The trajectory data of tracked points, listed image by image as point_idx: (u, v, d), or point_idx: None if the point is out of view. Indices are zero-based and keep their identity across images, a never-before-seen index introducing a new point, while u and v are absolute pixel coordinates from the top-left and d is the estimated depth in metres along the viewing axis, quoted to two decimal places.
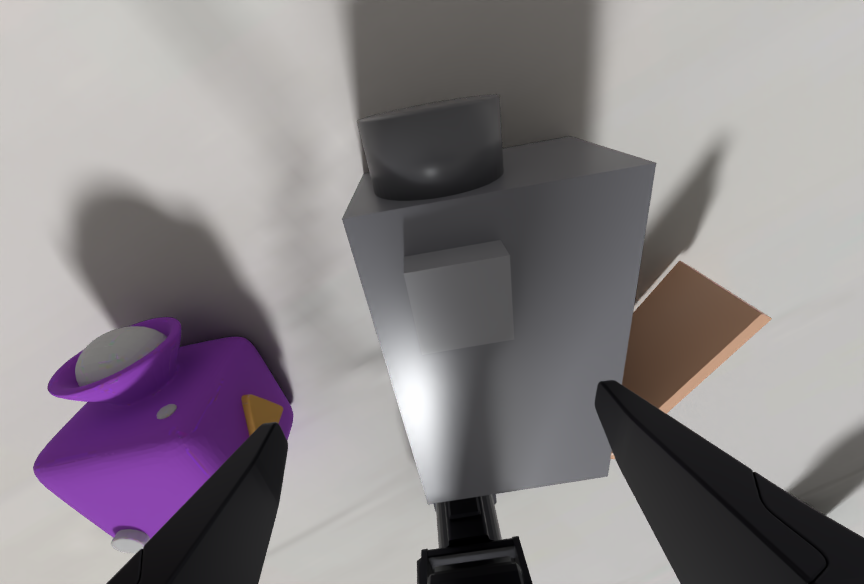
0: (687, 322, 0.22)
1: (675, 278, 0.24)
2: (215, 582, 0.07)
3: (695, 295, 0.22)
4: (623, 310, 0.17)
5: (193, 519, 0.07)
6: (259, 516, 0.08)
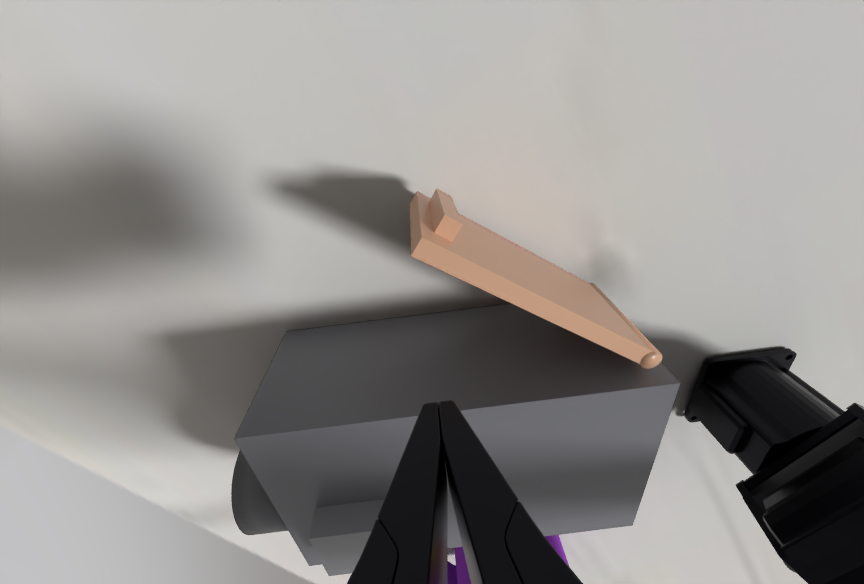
0: None
1: None
2: (439, 554, 0.07)
3: None
4: (383, 427, 0.16)
5: (415, 491, 0.07)
6: (444, 493, 0.08)
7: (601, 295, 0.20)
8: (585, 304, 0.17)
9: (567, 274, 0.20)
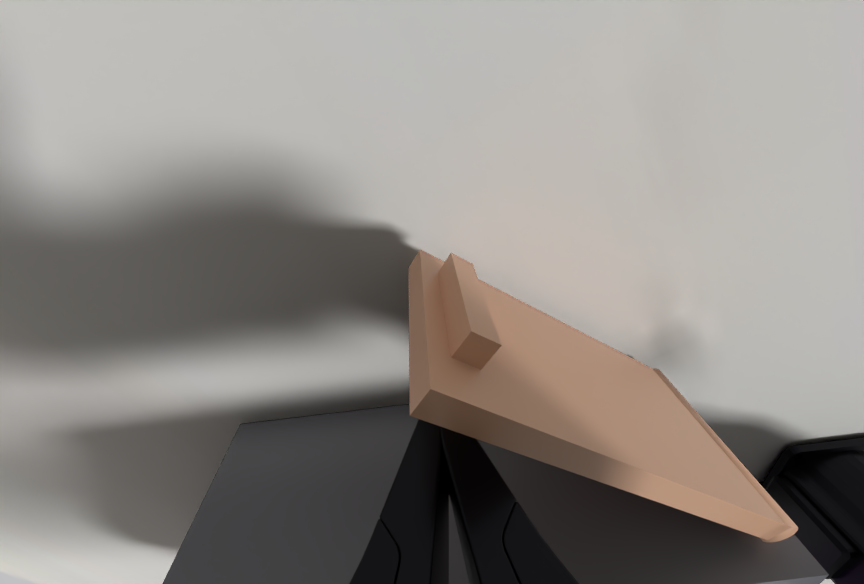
0: None
1: None
2: (441, 554, 0.07)
3: None
4: None
5: (416, 491, 0.07)
6: (446, 493, 0.08)
7: (675, 394, 0.14)
8: (675, 438, 0.11)
9: (628, 362, 0.14)
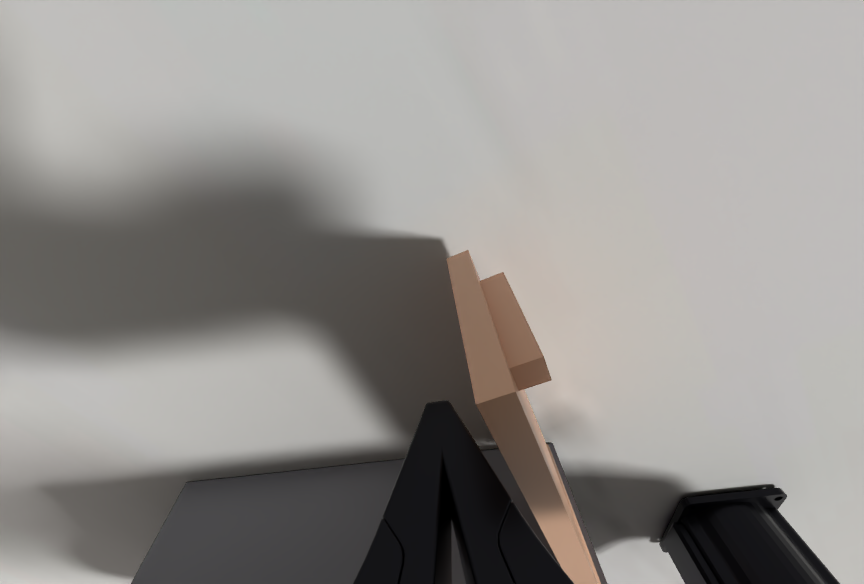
0: None
1: None
2: (444, 553, 0.07)
3: None
4: None
5: (420, 491, 0.07)
6: None
7: (557, 471, 0.17)
8: (569, 509, 0.13)
9: (540, 431, 0.16)
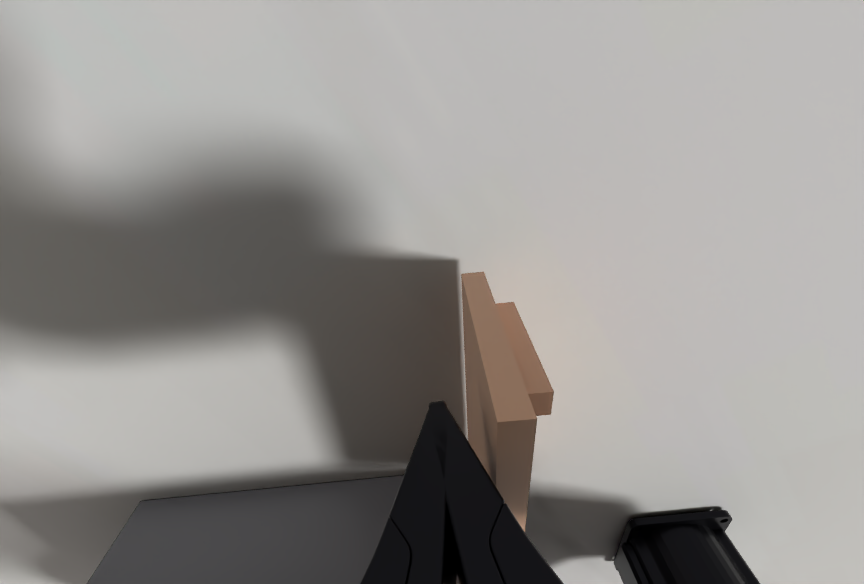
0: (477, 407, 0.11)
1: (464, 310, 0.13)
2: (450, 552, 0.07)
3: (472, 350, 0.11)
4: None
5: (426, 490, 0.07)
6: None
7: None
8: None
9: None
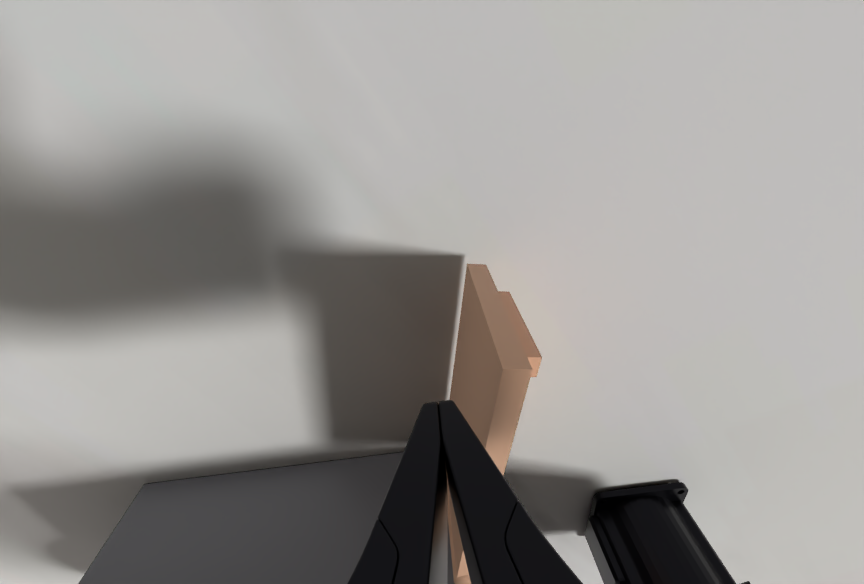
0: (473, 373, 0.13)
1: (466, 294, 0.15)
2: (439, 554, 0.07)
3: (474, 325, 0.13)
4: None
5: (415, 491, 0.07)
6: (445, 493, 0.08)
7: None
8: None
9: None
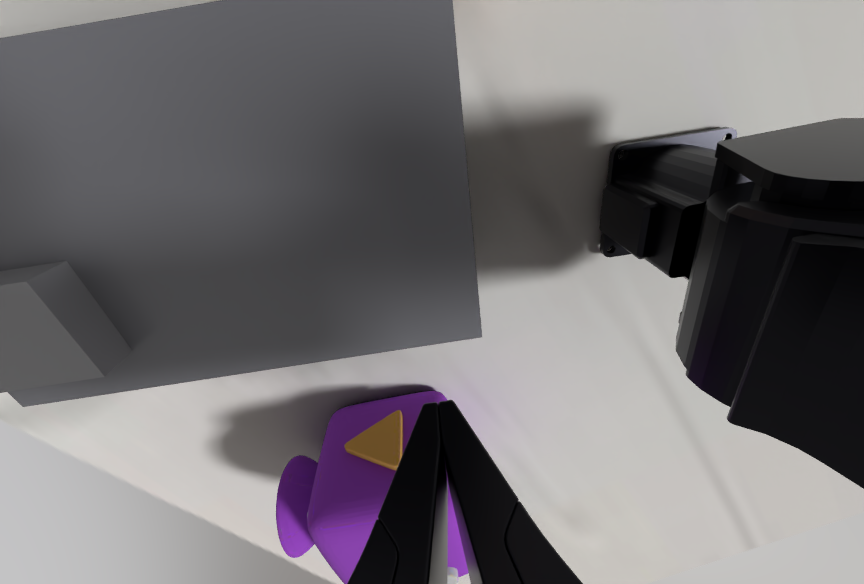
0: None
1: None
2: (439, 554, 0.07)
3: None
4: None
5: (415, 491, 0.07)
6: (444, 493, 0.08)
7: None
8: None
9: None
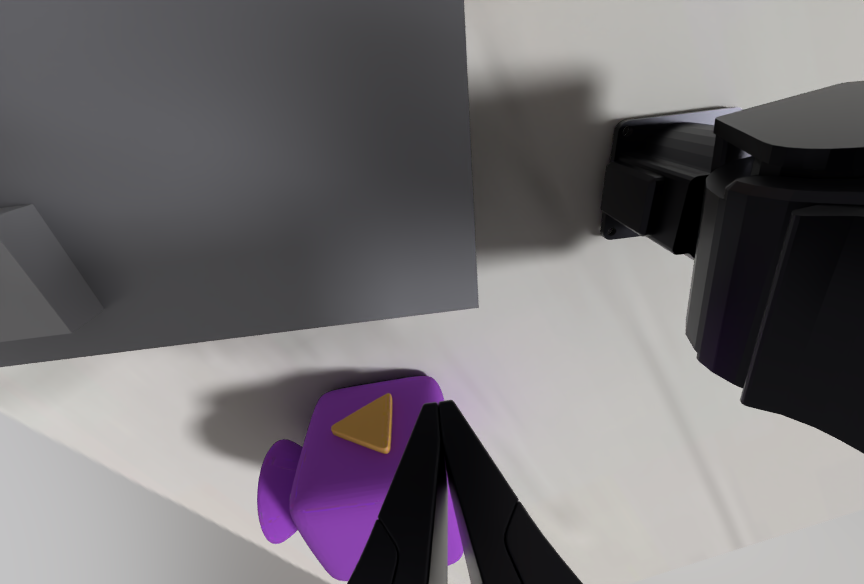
0: None
1: None
2: (439, 554, 0.07)
3: None
4: None
5: (415, 491, 0.07)
6: (444, 493, 0.08)
7: None
8: None
9: None
